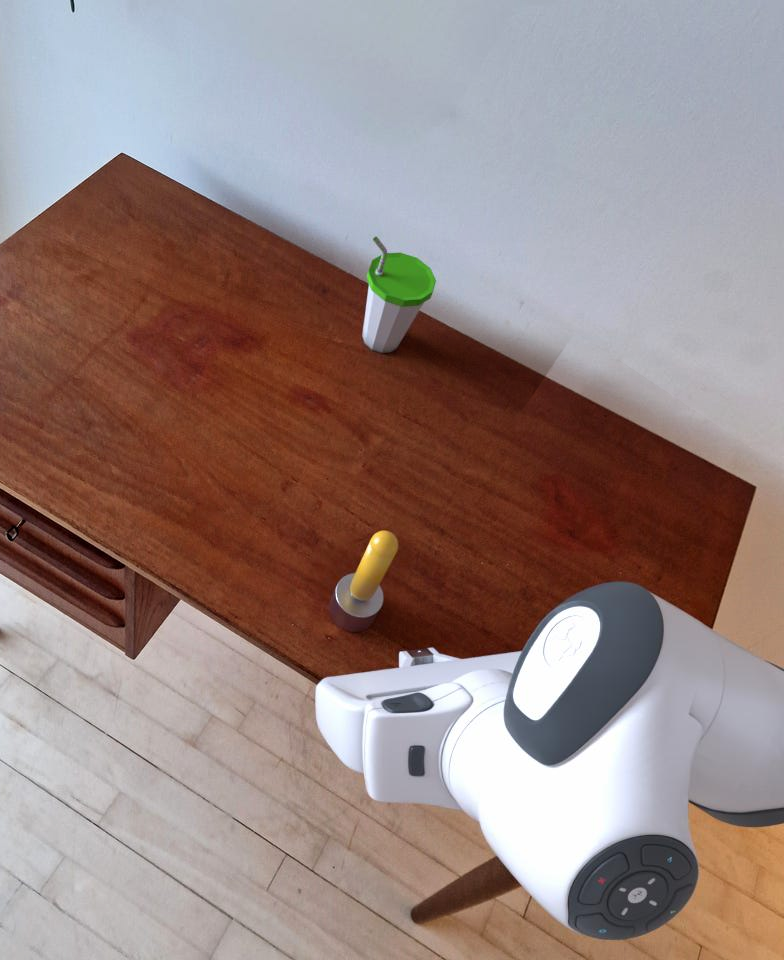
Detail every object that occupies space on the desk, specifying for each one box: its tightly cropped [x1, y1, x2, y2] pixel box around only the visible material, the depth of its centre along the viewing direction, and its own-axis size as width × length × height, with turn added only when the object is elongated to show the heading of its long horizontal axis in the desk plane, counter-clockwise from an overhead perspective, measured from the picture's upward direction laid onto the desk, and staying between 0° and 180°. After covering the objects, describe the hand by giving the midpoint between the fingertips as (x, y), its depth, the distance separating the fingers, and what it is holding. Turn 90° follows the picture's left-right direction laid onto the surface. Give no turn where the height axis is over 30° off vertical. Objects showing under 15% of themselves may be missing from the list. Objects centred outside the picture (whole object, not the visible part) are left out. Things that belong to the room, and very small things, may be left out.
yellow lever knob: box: [328, 530, 399, 633], centre depth 76 cm, size 5×5×14 cm
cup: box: [361, 236, 437, 354], centre depth 97 cm, size 8×8×15 cm
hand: (415, 657), depth 70 cm, fingers closed
